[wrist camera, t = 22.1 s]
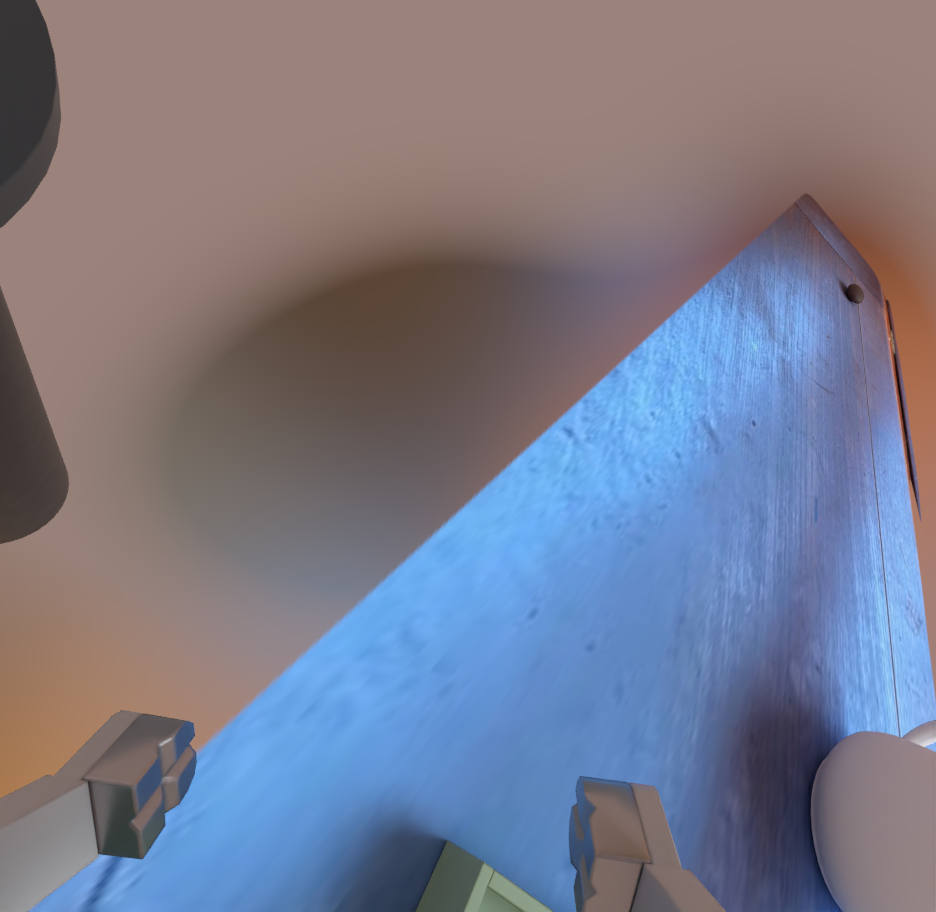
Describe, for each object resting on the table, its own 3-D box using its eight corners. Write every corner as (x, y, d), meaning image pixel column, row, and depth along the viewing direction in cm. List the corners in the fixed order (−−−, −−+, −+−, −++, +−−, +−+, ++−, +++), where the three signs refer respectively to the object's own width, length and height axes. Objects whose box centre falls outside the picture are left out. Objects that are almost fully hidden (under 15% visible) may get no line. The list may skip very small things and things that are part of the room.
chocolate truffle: (857, 304, 76) (869, 298, 74) (851, 307, 74) (864, 301, 73) (847, 286, 76) (859, 280, 74) (841, 289, 74) (853, 282, 73)
